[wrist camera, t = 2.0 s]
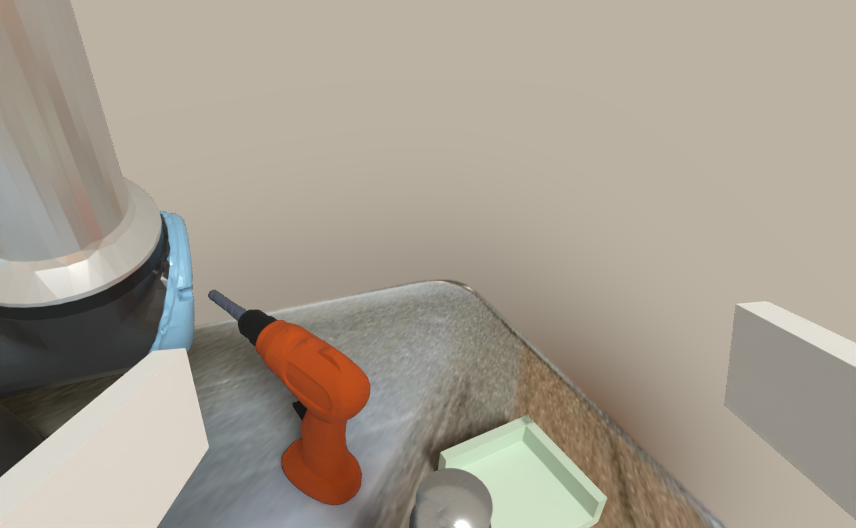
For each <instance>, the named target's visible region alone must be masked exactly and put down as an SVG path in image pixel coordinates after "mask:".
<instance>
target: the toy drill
mask: <svg viewBox="0 0 856 528" xmlns="http://www.w3.org/2000/svg"><path fill="white" fill-rule="evenodd" d="M208 297H209V298H210V299H211V300H212V301H214V302H215V303H216V304H218V305H219V306H220V307H222V308H223V309H224V310H226V311H227V312H228V313H229V314H230V315H231V316H232V317H233V318H235V319H236V320H237V321H238V327H239V331H240V333H241V334H242V335H244V336H245V337H246V338H248V339H249V341H250V343H252V344H253V345H254V346H256V351H257V352H258V354H259V355H260V356H261V358H262V359H263V361H264V362H265V364H266V365H267V367H268V368H269V369H270V370H271V371H272V372H273V373H274V374H276V375H277V376H278V377H279V378H280V379H281V381H282V382H283V383H284V384H285V385H286V386H287V388H288V389H289V390H290V391H291V392H292V393H293V394H294V396H295V397H296V398H297V399H298V400H299V401H297V402H294V403H293V407H294V409H295V410H296V412H297V414H298V415H299V417H300V418H301V420H302V428H301V436H302V438H300V439H298V440H297V441H295V442H294V443H293V444H292V445H291V446H290V447H289V448H288V449H287V450H286V451H285V453H284V455H283V457H282V468H283V470H284V473H285V475H286V476H287V478H288V479H289V480H290V481H291V482H292V483H293V484H294V485H295V486H296V487H297V488H298V489H300V490H301V491H302V492H304V493H305V494H307V495H309V496H310V497H312V498H314V499H316V500H318V501H320V502H323V503H326V504H330V505H339V504H342V503H345V502H347V501H349V500H350V499H351V498H352V497H354V496H355V494H356V493H357V492H358V490H359V488H360V486H361V478H362V473H361V469H360V466H359V464H358V462H357V460H356V458H355V457H354V456H353V455H352V454H351V453H350V452H349V451H348V450H347V446H346V437H345V432H346V423H347V420H349V419H351V418H352V417H354V416H355V415H357V414H358V413H359V412H360V411H361V410H362V409H363V407H364V406H365V405H366V403H367V401H368V399H369V396H370V383H369V380H368V378H367V376H366V375H365V373H364V372H363V371H362V370H361V369H360V368H359V367H358V366H357V365H356V364H355V363H354V362H353V361H352V360H350V359H349V358H348V357H347V356H345V355H344V354H343V353H341V352H340V351H338V350H337V349H336V348H334V347H333V346H331V345H330V344H328V343H326V342H325V341H323V340H321V339H320V338H318V337H317V336H315V335H313V334H312V333H310V332H309V331H307V330H306V329H304V328H303V327H301V326H299V325H296V324H292V323H287V322H285V321H284V320H277V319H275V318H274V317H272V316H268V315H266V314H265V313H263V312H262V311H260V310H248V311H246V310H245V309H243V308H242V307H240V306H238V305H237V304H235V303H234V302H232V301H231V300H229V299H228V298H227V297H224V295H222V294H221V293H219V292H218V291H216V290H212V291H210V292H209V294H208Z"/></svg>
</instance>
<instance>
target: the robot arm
mask: <svg viewBox="0 0 856 528" xmlns="http://www.w3.org/2000/svg"><path fill="white" fill-rule="evenodd" d="M192 277H193V275H192V265H191V254H190V246H189V239H188V233H187V228H186V224H185V221H184V219H183V218H182V217H181V216H180V215H178V214H176V213H167V212H165V211H159V210H158V208H157V206H156V204H155V202H154V200H153V198H152V197H151V196H150V195H149V194H148V193H147V192H146V191H145V190H144V189H143V188H141V187H140V186H139V185H137V184H135V183H134V182H132V181H130V180H128V179H126V178H124V177H122V174H121V170H120V167H119V163H118V160H117V157H116V153H115V150H114V147H113V143H112V140H111V137H110V134H109V130H108V126H107V123H106V120H105V116H104V113H103V110H102V106H101V103H100V99H99V96H98V93H97V89H96V86H95V83H94V79H93V76H92V73H91V69H90V66H89V62H88V59H87V56H86V52H85V49H84V45H83V42H82V39H81V35H80V32H79V29H78V25H77V22H76V18H75V15H74V12H73V8H72V5H71V2H70V0H0V399H2V398H7V397H11V396H16V395H21V394H25V393H30V392H35V391H39V390H44V389H49V388H54V387H58V386H63V385H68V384H72V383H77V382H82V381H86V380H91V379H96V378H101V377H106V376H111V375H116V374H121V373H126V372H127V373H126V374H124V375H123V376H122V377H121V378H120V379H118V380H117V381H116V382H115V383H114V384H112V385H111V386H110V387H109V388H108V389H106V390H105V391H104V392H103V393H101V394H100V395H99V396H98V397H97V398H95V399H94V400H93V401H92V402H91V403H89V404H88V405H87V406H86V407H85V408H83V409H82V410H81V411H80V412H79V413H77V414H76V415H75V416H74V417H73V418H71V419H70V420H69V421H68V422H66V423H65V424H64V425H63V426H62V427H60V428H59V429H58V430H57V431H56V432H54V433H53V434H52V435H51V436H50V437H48V438H47V439H46V440H45V441H44V442H43V441H42V439H41V437H40V436H39V434H38V433H37V432H36V431H35V430H34V429H33V428H32V427H31V426H30V425H28V424H27V423H26V422H24V421H23V420H22V419H20V418H19V417H18V416H17V415H15V414H14V413H13V412H11V411H10V410H9V409H7V408H6V407H5V406H3V405H2V404H1V403H0V528H157V526H158V525H159V523H160V522H161V520H162V519H163V517H164V515H165V514H166V512H167V511H168V509H169V508H170V506H171V505H172V503H173V502H174V500H175V499H176V497H177V496H178V494H179V493H180V491H181V490H182V488H183V486H184V485H185V483H186V482H187V480H188V479H189V477H190V476H191V474H192V473H193V471H194V470H195V468H196V467H197V465H198V464H199V462H200V461H201V459H202V457H203V456H204V454H205V453H206V451H207V450H208V448H209V445H208V441H207V437H206V433H205V428H204V424H203V420H202V416H201V411H200V407H199V403H198V399H197V395H196V390H195V386H194V382H193V378H192V373H191V369H190V365H189V361H188V356H187V351H188V350H189V349H190V347H191V345H192V342H193V336H194V299H193V293H192V289H193V285H192ZM724 405H725V406H726V407H727V408H728V409H729V410H730V411H731V412H733V413H734V414H735V415H736V416H737V417H738V418H739V419H741V420H742V421H743V422H744V423H745V424H747V426H749V427H750V428H751V429H752V430H753V431H754V432H756V433H757V434H758V435H759V436H760V437H761V438H762V439H764V440H765V441H766V442H767V443H768V444H769V445H771V446H772V447H773V448H774V449H775V450H776V451H777V452H778V453H780V454H781V455H782V456H783V457H784V458H785V459H786V460H788V461H789V462H790V463H791V464H792V465H793V466H794V467H796V468H797V469H798V470H799V471H800V472H801V473H803V474H804V475H805V476H806V477H807V478H808V479H809V480H811V481H812V482H813V483H814V484H815V485H816V486H817V487H819V488H820V489H821V490H822V491H823V492H824V493H825V494H827V495H828V496H829V497H830V498H831V499H832V500H833V501H835V502H836V503H837V504H838V505H839V506H840V507H841V508H843V509H844V510H845V511H846V512H847V513H848V514H849V515H851V516H852V517H853V518H854V519H855V520H856V343H855V342H852V341H850V340H848V339H846V338H844V337H842V336H840V335H838V334H835V333H833V332H831V331H829V330H827V329H825V328H823V327H821V326H818V325H816V324H814V323H812V322H810V321H808V320H806V319H804V318H802V317H799V316H797V315H795V314H793V313H791V312H789V311H787V310H785V309H783V308H780V307H778V306H776V305H774V304H772V303H770V302H768V301H767V302H754V303H743V304H742V303H741V304H736V305H735V314H734V323H733V332H732V341H731V350H730V359H729V367H728V376H727V385H726V394H725V404H724Z"/></svg>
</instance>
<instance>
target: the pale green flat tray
mask: <svg viewBox="0 0 856 528" xmlns="http://www.w3.org/2000/svg"><path fill="white" fill-rule="evenodd" d="M444 468H456V469H461V470H465V471H467V472H469V473H471V474H473V475H475V476H476V477H477V478H479V479H480V480H481V481H482V482H483V483H484V485H485V486H486V487H487V489H488V491H489V493H490V495H491V498H492V502H493V512H492V517H491V521H490V522H491V528H589V527H591V526H593V525H594V524H596V523H597V522H598V520H599V518H600V515H601V513H602V510H603V508H604V505H605V502H606V500H607V497H606V496H605V495H604V494H603V493H602V492H601V491H600V490H599V489H598V488H597V487H596V486H595V485H594V484H593V483H592V481H591V480H590V479H589V478H588V477H587V476H586V475H585V474H584V473H583V472H582V471H581V470H580V469H579V468H578V467H577V466H576V465H575V464H574V463H573V462H572V461H571V460H570V459H569V458H568V457H567V456H566V455H565V454H564V453H563V452H562V451H561V450H560V449H559V448H558V446H557V445H556V444H555V443H554V442H553V441H552V440H551V439H550V438H549V437H548V436H547V435H546V434H545V433H544V432H543V431H542V430H541V429H540V428H539V427H538V426H537V425H536V424H535V423H534V422H533V421H532V420H531V419H530V418H529V417H528V416H527V415H526V416H523V417H521V418H519V419H516V420H514V421H512V422H509V423H507V424H505V425H502V426H500V427H498V428H495V429H493V430H491V431H488V432H486V433H484V434H481V435H479V436H477V437H474V438H472V439H470V440H467V441H465V442H463V443H460V444H458V445H456V446H453V447H451V448H449V449H446V450H444V451H442V452H440V458H439V466H438V470H440V469H444Z"/></svg>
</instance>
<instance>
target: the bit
mask: <svg viewBox="0 0 856 528" xmlns="http://www.w3.org/2000/svg"><path fill="white" fill-rule="evenodd" d="M492 512H493V502H492V498H491V495H490V493H489V491H488V489H487V487H486V486H485V485H484V483H483V482H482V481H481V480H480V479H479V478H477V477H476V476H475V475H473V474H471V473H469V472H467V471H465V470H461V469H456V468H444V469H440V470H437V471H434V472H432V473H431V474H429V475H428V476H427V477H426V478H424V480H423V481H422V482H421V484H420V485H419V488H418V490H417V494H416V504H415V506H414V508H413V510H412V512H411V516H410V522H409V528H491V522H490V521H491V517H492Z"/></svg>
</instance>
